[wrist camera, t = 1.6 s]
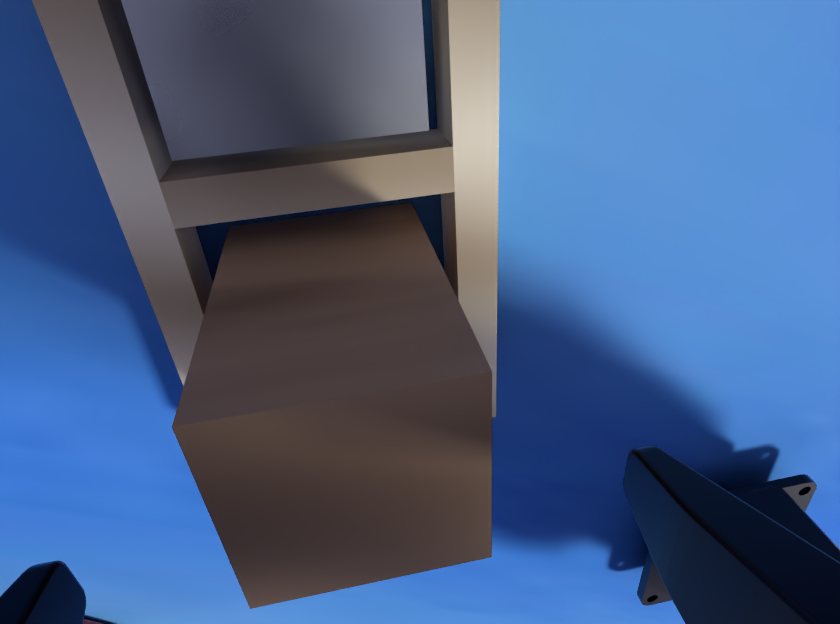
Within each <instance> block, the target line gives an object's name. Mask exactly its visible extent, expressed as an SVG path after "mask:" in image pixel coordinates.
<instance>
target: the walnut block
mask: <svg viewBox="0 0 840 624" xmlns="http://www.w3.org/2000/svg"><path fill="white" fill-rule="evenodd" d="M172 428H173V431H174V433H175V435H176V438H177V440H178V442H179V445H180V447H181V449H182V452H183V454H184V456H185V459H186V461H187V463H188V466H189V468H190V470H191V473H192V475H193V477H194V479H195V482H196V484H197V486H198V489H199V491H200V493H201V496H202V498H203V500H204V503H205V505H206V507H207V510H208V512H209V514H210V517H211V519H212V521H213V524H214V526H215V528H216V531H217V533H218V535H219V537H220V540H221V542H222V544H223V547H224V549H225V551H226V554H227V556H228V558H229V561H230V563H231V565H232V568H233V570H234V572H235V575H236V577H237V579H238V582H239V584H240V586H241V588H242V591H243V593H244V595H245V598H246V600H247V602H248V605H249V607H250V609H251V608H256V607H260V606H265V605H270V604H274V603H279V602H284V601H288V600H293V599H298V598H302V597H307V596H312V595H316V594H321V593H326V592H330V591H335V590H340V589H344V588H349V587H354V586H358V585H363V584H368V583H372V582H377V581H382V580H387V579H391V578H396V577H401V576H405V575H410V574H415V573H419V572H424V571H429V570H433V569H438V568H443V567H447V566H452V565H457V564H461V563H466V562H471V561H475V560H480V559H485V558H489V557H492V370H491V368H490V366H489V364H488V362H487V360H486V358H485V355H484V353H483V351H482V349H481V347H480V345H479V343H478V341H477V339H476V337H475V334H474V332H473V330H472V328H471V326H470V324H469V322H468V320H467V318H466V316H465V313H464V311H463V309H462V307H461V305H460V303H459V301H458V299H457V297H456V295H455V293H454V290H453V288H452V286H451V284H450V282H449V280H448V278H447V276H446V274H445V272H444V269H443V267H442V265H441V263H440V261H439V259H438V257H437V255H436V253H435V251H434V248H433V246H432V244H431V242H430V240H429V238H428V236H427V234H426V232H425V230H424V227H423V225H422V223H421V221H420V219H419V217H418V215H417V213H416V211H415V209H414V207H413V204H412V202H410V203H402V204H395V205H387V206H380V207H372V208H365V209H357V210H350V211H342V212H335V213H327V214H320V215H312V216H305V217H297V218H290V219H282V220H275V221H267V222H260V223H252V224H245V225H237V226H230V227H229V229H228V232H227V236H226V239H225V243H224V246H223V250H222V253H221V257H220V260H219V264H218V268H217V271H216V275H215V278H214V282H213V285H212V289H211V292H210V296H209V299H208V303H207V306H206V310H205V313H204V317H203V320H202V324H201V327H200V331H199V334H198V338H197V341H196V345H195V348H194V352H193V355H192V359H191V362H190V366H189V369H188V373H187V376H186V380H185V383H184V387H183V390H182V394H181V397H180V401H179V404H178V408H177V411H176V415H175V418H174V422H173V425H172Z"/></svg>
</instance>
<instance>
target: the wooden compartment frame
mask: <svg viewBox="0 0 840 624" xmlns="http://www.w3.org/2000/svg"><path fill="white" fill-rule="evenodd" d="M32 2H33V5H34V7H35V10H36V13H37V15H38V18H39V20H40V23H41V25H42V28H43V30H44V33H45V35H46V38H47V41H48V43H49V46H50V48H51V51H52V53H53V56H54V58H55V61H56V63H57V66H58V69H59V71H60V74H61V76H62V79H63V81H64V84H65V86H66V89H67V91H68V94H69V96H70V99H71V102H72V104H73V107H74V109H75V112H76V114H77V117H78V119H79V122H80V124H81V127H82V130H83V132H84V135H85V137H86V140H87V142H88V145H89V147H90V150H91V152H92V155H93V158H94V160H95V163H96V165H97V168H98V170H99V173H100V175H101V178H102V180H103V183H104V185H105V188H106V191H107V193H108V196H109V198H110V201H111V203H112V206H113V208H114V211H115V213H116V216H117V219H118V221H119V224H120V226H121V229H122V231H123V234H124V236H125V239H126V241H127V244H128V247H129V249H130V252H131V254H132V257H133V259H134V262H135V264H136V267H137V269H138V272H139V274H140V277H141V280H142V282H143V285H144V287H145V290H146V292H147V295H148V297H149V300H150V302H151V305H152V308H153V310H154V313H155V315H156V318H157V320H158V323H159V325H160V328H161V330H162V333H163V336H164V338H165V341H166V343H167V346H168V348H169V351H170V353H171V356H172V358H173V361H174V363H175V366H176V369H177V371H178V374H179V376H180V379H181V381H182V384H183V386H184V383H185V380H186V376H187V373H188V369H189V366H190V362H191V359H192V355H193V352H194V348H195V345H196V341H197V338H198V334H199V331H200V327H201V324H202V320H203V317H204V313H205V310H206V306H207V303H208V299H209V296H210V292H211V289H212V285H213V281H212V278H211V275H210V271H209V268H208V265H207V262H206V259H205V255H204V252H203V249H202V246H201V243H200V239H199V236H198V233H197V230H196V227H195V226H201V225H208V224H216V223H223V222H231V221H239V220H246V219H254V218H261V217H269V216H276V215H284V214H292V213H299V212H307V211H314V210H322V209H329V208H337V207H345V206H352V205H360V204H367V203H375V202H382V201H390V200H398V199H405V198H413V197H420V196H428V195H435V194H441V210H442V230H443V250H444V270H445V274H446V276H447V278H448V280H449V282H450V284H451V286H452V288H453V290H454V293H455V295H456V297H457V299H458V301H459V303H460V305H461V307H462V309H463V311H464V313H465V316H466V318H467V320H468V322H469V324H470V326H471V328H472V330H473V332H474V334H475V337H476V339H477V341H478V343H479V345H480V347H481V349H482V351H483V353H484V355H485V358H486V360H487V362H488V364H489V366H490V368H491V370H492V418H494V417H496V383H497V277H498V170H499V63H500V0H431V10H432V30H433V50H434V70H435V90H436V110H437V129H429V131H421V132H413V133H404V134H396V135H387V136H379V137H370V138H362V139H353V140H345V141H336V142H328V143H319V144H311V145H302V146H294V147H285V148H277V149H268V150H260V151H251V152H243V153H234V154H226V155H217V156H209V157H201V158H192V159H184V160H175V161H172V160H171V157H170V153H169V150H168V147H167V144H166V141H165V138H164V134H163V131H162V128H161V125H160V122H159V119H158V115H157V112H156V109H155V106H154V103H153V100H152V97H151V93H150V90H149V87H148V84H147V81H146V78H145V74H144V71H143V68H142V65H141V62H140V59H139V55H138V52H137V49H136V46H135V43H134V40H133V36H132V33H131V30H130V27H129V24H128V21H127V18H126V14H125V11H124V8H123V5H122V2H121V0H32Z"/></svg>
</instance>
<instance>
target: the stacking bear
mask: <svg viewBox="0 0 840 624" xmlns="http://www.w3.org/2000/svg"><path fill="white" fill-rule="evenodd" d="M83 624H103V623H99V622H95V621H91V620H87V619H84V620H83Z"/></svg>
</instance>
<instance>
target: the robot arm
mask: <svg viewBox="0 0 840 624" xmlns="http://www.w3.org/2000/svg"><path fill="white" fill-rule="evenodd" d="M816 487H817V485H816V483H815V482H814V481H813V480H812V479H811V478H810V477H809V476H808V475H805V474H804V475H797V476H792V477H787V478H783V479H778V480H773V481H768V482H764V483H759V484H754V485H749V486H745V487H740V488H735V489H730V490H725V489H723V488H722V487H720V486H719V485H717V484H715V483H714V482H712V481H711V480H709V479H708V478H706V477H704V476H703V475H701V474H700V473H698V472H696V471H695V470H693V469H692V468H690V467H689V466H687V465H685V464H684V463H682V462H681V461H679V460H678V459H676V458H674V457H673V456H671V455H670V454H668V453H667V452H665V451H663V450H662V449H660V448H658V447H656V446H644V447H639V448H634V449H632V450H631V451H630V452H629V454H628V458H627V463H626V468H625V474H624V479H623V488H624V492H625V495H626V498H627V500H628V503H629V505H630V507H631V510H632V512H633V514H634V517H635V519H636V521H637V524H638V526H639V528H640V531H641V533H642V535H643V538H644V540H645V542H646V545H647V547H648V552H647V556H646V560H645V564H644V568H643V572H642V575H641V579H640V583H639V587H638V591H637V595H638V597H639V599H640V601H641V603H642V604H643V605H653V604H657V603H661V602H666V601H670V600H673V602H674V604H675V606H676V607H677V609H678V611H679V613H680V615H681V616H682V618H683V620H684V622H685V624H840V549H839V548H838V547H837V546H836V545H835V544H834V543H833V542H832V540H831V539H830V538H829V537H828V536H827V535H826V534H825V533H824V532H823V531H822V530H821V529H820V528H819V527H818V525H817V524H816V523H815V522H814V521H813V520H812V519H811V518H810V517H809V516H808V515H807V514H806V513H805V510H806V508H807V506H808V504H809V502H810V500H811V498H812V496H813V494H814V492H815V490H816ZM85 608H86V597H85V593H84V590H83V588H82V587H81V585H80V584H79V582H78V581H77V579H76V578H75V577H74V575H73V574H72V572H71V571H70V570H69V568H68V567H67V565H66V564H65V563H64V562H61V561H53V562H47V563H42V564H37V565H34V566H31V567H30V568H28V569H27V570H26V571H24V572H23V573H22V574H21V575H20V577H19V578H18V579H17V580H16V581H15V582H14V583H13V584H12V585H11V586H10V587H9V588H8V589H7V590H6V591H5V592H4V593H3V594H2V595H1V596H0V624H83V620H84V614H85Z"/></svg>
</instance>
